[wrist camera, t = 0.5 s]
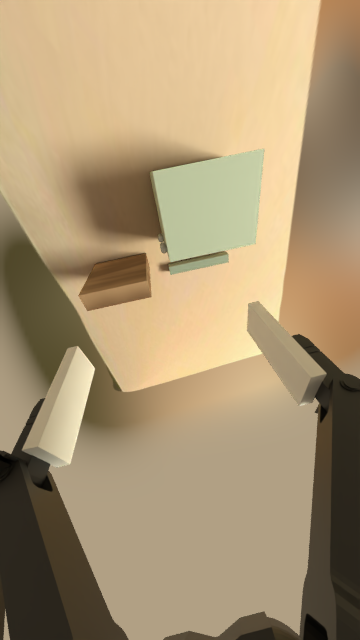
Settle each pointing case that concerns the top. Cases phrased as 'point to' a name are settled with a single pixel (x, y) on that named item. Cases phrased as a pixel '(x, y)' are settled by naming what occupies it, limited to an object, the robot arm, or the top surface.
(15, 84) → the top surface
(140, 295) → the brown boxy piece
